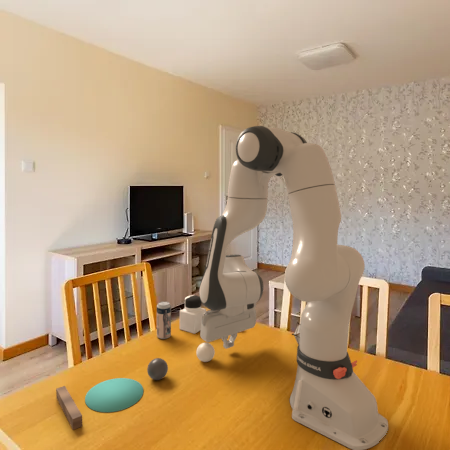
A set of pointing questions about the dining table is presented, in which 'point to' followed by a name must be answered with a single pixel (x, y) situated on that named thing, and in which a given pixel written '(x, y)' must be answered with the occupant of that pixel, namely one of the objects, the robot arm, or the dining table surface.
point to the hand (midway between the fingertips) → (228, 346)
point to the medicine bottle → (192, 314)
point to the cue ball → (205, 352)
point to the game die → (297, 333)
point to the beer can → (163, 320)
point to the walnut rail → (69, 407)
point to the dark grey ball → (157, 369)
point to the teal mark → (114, 395)
